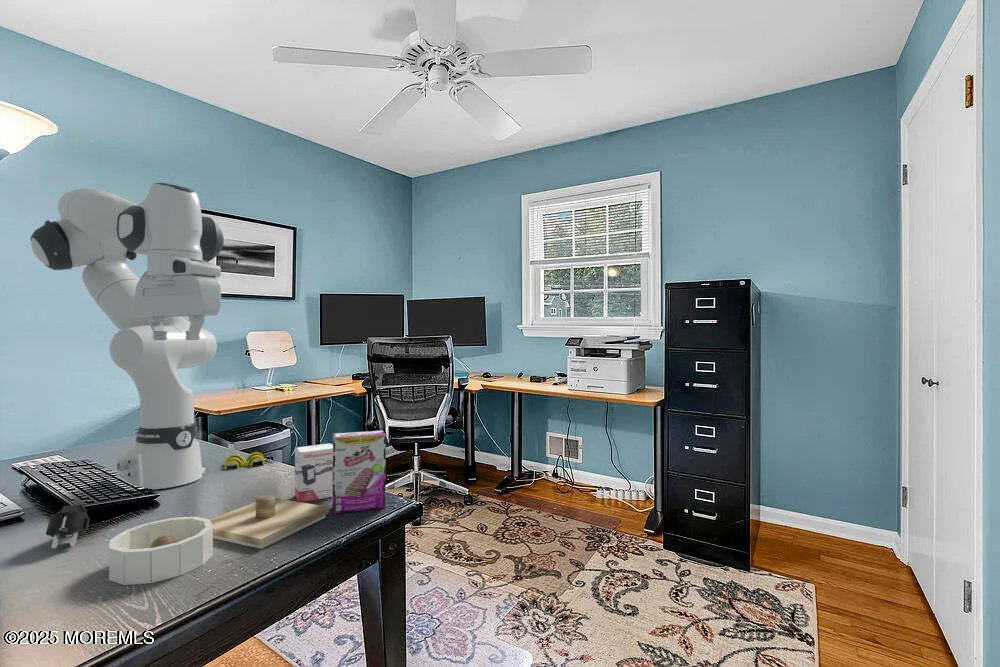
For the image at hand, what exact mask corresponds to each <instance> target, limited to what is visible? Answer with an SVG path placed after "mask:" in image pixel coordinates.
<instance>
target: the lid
mask: <svg viewBox="0 0 1000 667" xmlns="http://www.w3.org/2000/svg"><path fill="white" fill-rule="evenodd" d="M329 513H330V507H329V506H325V505H318V504H312V503H309V502H298V501H297V500H296V501H294V500H289V499H282V498H277V497H276V496H275V495H273V494H269V495H268V494H266V495H261V496H258V497H256V498H255V502H252V503H250V504H247V505H244V506H241V507H240V508H236V509H234V510H231V511H229V512H226V513H222V514H221V515H219V516H216V517H212V518H209V519H210V521H211V523H212V525H213V535H214V536H219V537H223V538H228V539H232V540H237V541H241V542H246V543H251V544H255V545H260V546H262V545H264V544H266V543H268V542H270V541H272V540H274V539H276V538H278V537H281V536H283V535H285V534H287V533H289V532H291V531H293V530H295V529H297V528H299V527H301V526H303V525H305V524H307V523H309V522H311V521H313V520H316V519H318V518H320V517H322V516H324V515H326V516H327V515H328V514H329Z"/></svg>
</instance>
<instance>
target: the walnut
mask: <svg viewBox="0 0 1000 667" xmlns="http://www.w3.org/2000/svg"><path fill="white" fill-rule="evenodd" d="M173 543H176V542H175V540H174V538H172V537H171V536H161V537H159V538H157V539H155V540H154V541H153V543H152V544H151V546H150V548H155V547H159V546H164V545H168V544H173Z"/></svg>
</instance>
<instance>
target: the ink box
mask: <svg viewBox="0 0 1000 667" xmlns="http://www.w3.org/2000/svg"><path fill="white" fill-rule="evenodd" d="M332 477H333V443H321V444H314V445H307V446H297V448H295V449H294V489H295V490H294V492H295V493H294V495H295V498H296V501H297V502H302V503H306V502H310V501H315V500H321V499H327V498H332ZM305 501H306V502H305Z"/></svg>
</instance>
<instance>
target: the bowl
mask: <svg viewBox="0 0 1000 667" xmlns="http://www.w3.org/2000/svg"><path fill="white" fill-rule="evenodd" d="M210 519H211V518H205V517H199V516H184V517H179V516H178V517H170V518H166V519H160V520H156V521H150V522H145V523H143V524H141V525H137V526H134V527H131V528H129V529H125V530H124V531H122V532H120V533H119V534H117V535H115V536H114V537H113V538H111V539H109V543H108V580H109V581H111V582H114V583H117V584H120V585H123V586H129V585H131V586H132V585H145V584H154V583H157V582H160V581H165V580H169V579H173V578H176V577H180V576H182V575H185V574H187V573H189V572H191V571H194V570H195V569H198V568H199V567H202V566H204V565H205V563H206V562H208V560H210V559H211V558H212V557H213V555H214V538H213V525H212V523H211V521H210ZM161 536H171V537H172V538H174V540H175V542H176V543H173V544H168V545H164V546H159V547H155V548H150V546H151V544H152V543H153V541H154V540H155V539H157V538H159V537H161Z"/></svg>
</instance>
